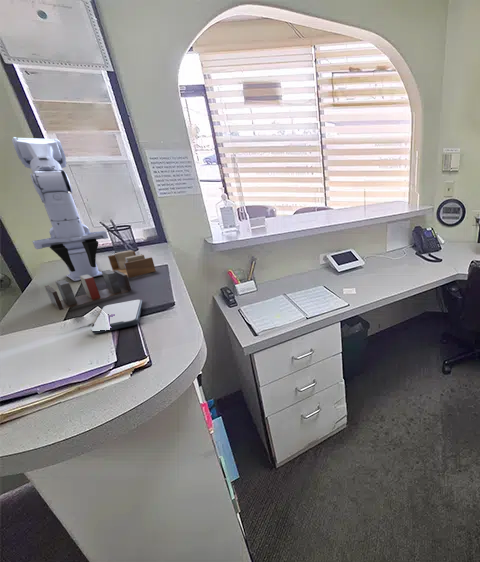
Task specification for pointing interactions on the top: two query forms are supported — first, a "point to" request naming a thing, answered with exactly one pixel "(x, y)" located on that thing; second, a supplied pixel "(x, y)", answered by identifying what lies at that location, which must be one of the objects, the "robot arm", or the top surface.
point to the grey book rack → (115, 285)
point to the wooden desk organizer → (131, 263)
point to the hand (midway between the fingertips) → (83, 268)
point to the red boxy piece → (90, 286)
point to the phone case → (123, 314)
